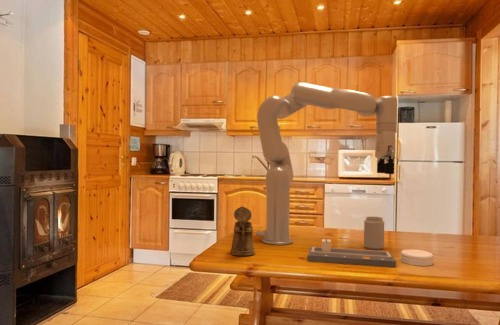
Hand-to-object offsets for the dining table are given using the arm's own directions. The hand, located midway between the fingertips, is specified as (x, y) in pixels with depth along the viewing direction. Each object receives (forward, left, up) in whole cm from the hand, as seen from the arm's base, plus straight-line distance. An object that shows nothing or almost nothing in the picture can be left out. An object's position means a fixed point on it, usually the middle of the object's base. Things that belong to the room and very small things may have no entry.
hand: (385, 173), depth 145 cm
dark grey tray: (-13, -19, -29) cm, 37 cm away
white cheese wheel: (+9, -16, -30) cm, 35 cm away
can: (-3, +2, -30) cm, 30 cm away
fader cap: (-21, -19, -27) cm, 39 cm away
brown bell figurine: (-50, -23, -30) cm, 63 cm away
